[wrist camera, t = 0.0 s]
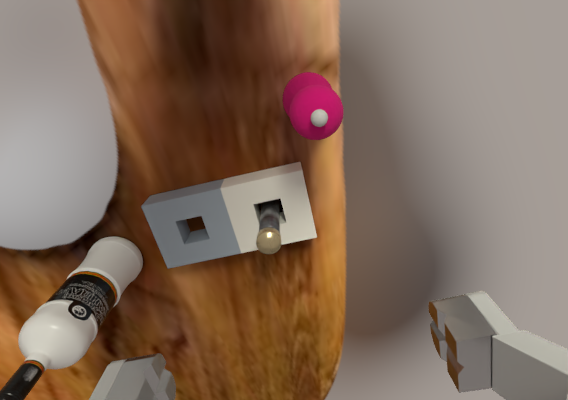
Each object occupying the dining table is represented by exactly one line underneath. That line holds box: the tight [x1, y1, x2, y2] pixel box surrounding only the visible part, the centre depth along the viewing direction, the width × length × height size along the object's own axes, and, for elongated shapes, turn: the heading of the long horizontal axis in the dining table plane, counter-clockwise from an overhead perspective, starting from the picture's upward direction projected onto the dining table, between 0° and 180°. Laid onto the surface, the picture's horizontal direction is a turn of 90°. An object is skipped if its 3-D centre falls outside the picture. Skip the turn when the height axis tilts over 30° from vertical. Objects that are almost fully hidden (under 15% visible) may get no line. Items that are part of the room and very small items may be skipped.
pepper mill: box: [283, 72, 343, 140], centre depth 45 cm, size 7×7×20 cm
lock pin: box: [256, 199, 281, 254], centre depth 55 cm, size 3×3×14 cm
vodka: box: [0, 236, 143, 400], centre depth 51 cm, size 9×9×30 cm
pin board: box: [141, 162, 317, 268], centre depth 59 cm, size 12×26×4 cm, turn 103°
